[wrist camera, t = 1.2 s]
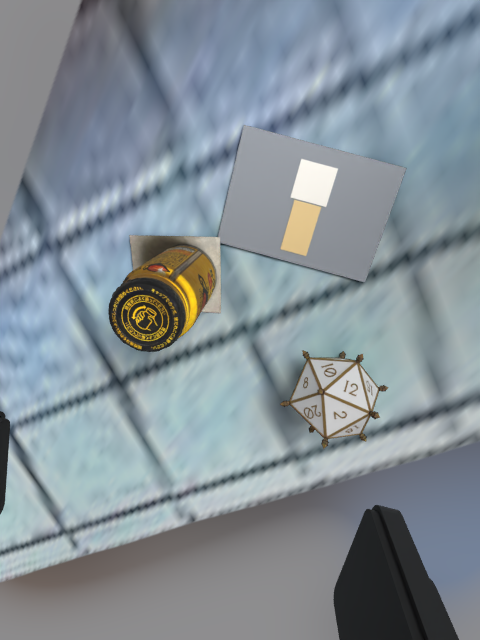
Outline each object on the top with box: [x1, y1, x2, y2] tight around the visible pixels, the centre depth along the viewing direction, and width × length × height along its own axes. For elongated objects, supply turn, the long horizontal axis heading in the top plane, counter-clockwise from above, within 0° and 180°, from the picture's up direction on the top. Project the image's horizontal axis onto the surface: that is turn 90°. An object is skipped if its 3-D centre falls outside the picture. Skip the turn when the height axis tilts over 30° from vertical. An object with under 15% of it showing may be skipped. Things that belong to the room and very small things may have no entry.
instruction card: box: [218, 125, 406, 282], centre depth 34 cm, size 10×14×1 cm
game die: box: [280, 351, 388, 448], centre depth 35 cm, size 9×8×10 cm
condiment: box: [109, 235, 221, 352], centre depth 32 cm, size 7×8×12 cm
